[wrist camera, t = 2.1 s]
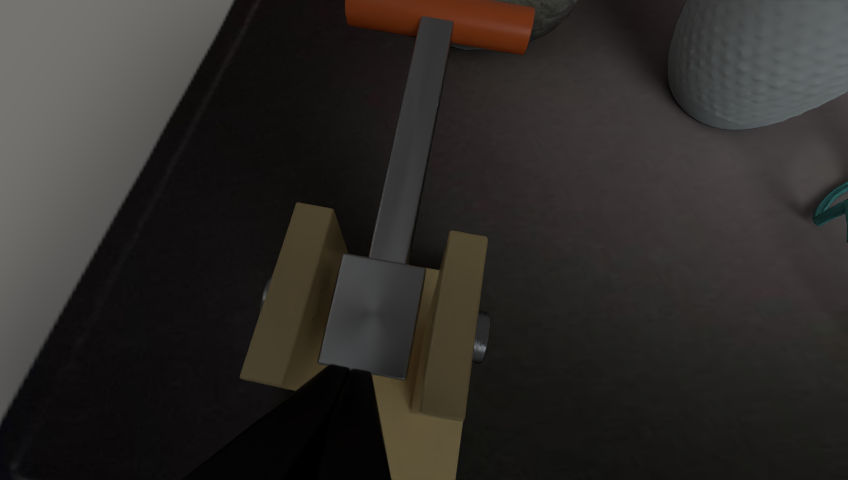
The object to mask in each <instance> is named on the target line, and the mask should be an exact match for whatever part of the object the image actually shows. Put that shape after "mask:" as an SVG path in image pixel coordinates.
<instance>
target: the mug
mask: <svg viewBox="0 0 848 480" xmlns="http://www.w3.org/2000/svg"><path fill="white" fill-rule="evenodd" d="M668 82H669V87H670V90H671V92H672V94H673V97H674V98H675V100H676V102H677V103H678V104H679V106H680V107H681V108H682V109H683V110H684V111H685V112H686V113H687V114H689V115H690V116H691V117H693V118H694V119H696V120H697V121H699V122H701V123H704V124H706V125H709V126H712V127H716V128H720V129H727V130H743V129H752V128H757V127H761V126H768V125H771V124H773V123H780V122H782V121H785V120H787V119H789V118H791V117H796V116H797V115H801V114H803V113H804V112H806V111H808V110H811V109H813V108H817V107H819V106H821V105H822V104H825V103H827V102H828V101H830V100H832V99H835V98H837V97H838V96H840V95H843V94H845V93H846V92H848V0H687V1H686V3H685V4H684V6H683V9H682V12H681V14H680V18H679V20H678V21H677V25H676V26H675V29H674V34H673V37H672V39H671V45H670V50H669V52H668Z"/></svg>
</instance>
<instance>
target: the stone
mask: <svg viewBox="0 0 848 480" xmlns="http://www.w3.org/2000/svg"><path fill="white" fill-rule="evenodd" d="M494 1H500V2H506V3H512V4H517V5H523V6H529V7H534V8H535V16H534V22H533V27H532V31H531V35H530V39H529V42H530V41H532V40H535V39H537V38H540V37H542V36H544V35H546V34H547V33H549V32H550V31H552V30H553V29H555V28H556V27H557V26H558V25H559V24H560V23H561V22H562V21H563V20H564V19H565V18H566V17H567V16H568V15H569V14H570V12H571V11H572V9H573V7H574V6H575V4H576V3H577V2H578V0H494ZM451 46H452V47H456V48H458V49H461V50H471V49H483V48H477V47H471V46H465V45H459V44H454V43H452V44H451ZM484 50H488V49H484Z"/></svg>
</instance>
